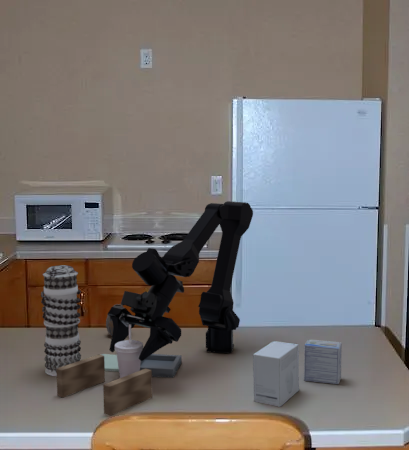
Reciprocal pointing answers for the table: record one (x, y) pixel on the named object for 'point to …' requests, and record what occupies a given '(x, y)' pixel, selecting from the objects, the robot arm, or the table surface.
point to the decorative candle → (61, 317)
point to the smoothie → (128, 355)
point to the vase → (109, 323)
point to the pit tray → (162, 364)
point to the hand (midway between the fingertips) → (125, 355)
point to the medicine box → (322, 361)
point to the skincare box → (276, 373)
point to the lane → (113, 391)
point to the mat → (110, 362)
